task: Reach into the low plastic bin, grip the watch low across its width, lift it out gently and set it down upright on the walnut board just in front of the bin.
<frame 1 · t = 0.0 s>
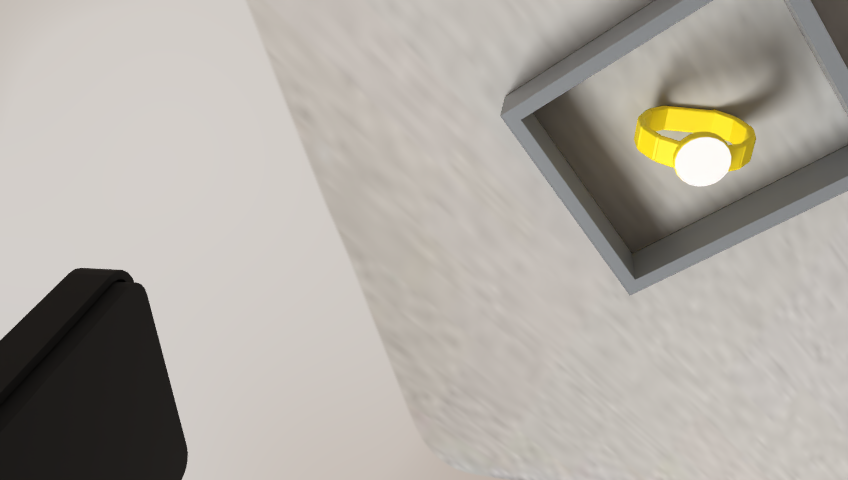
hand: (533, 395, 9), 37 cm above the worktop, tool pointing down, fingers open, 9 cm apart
bin: (688, 119, 45), on the worktop
watch: (687, 117, 46), resting in bin
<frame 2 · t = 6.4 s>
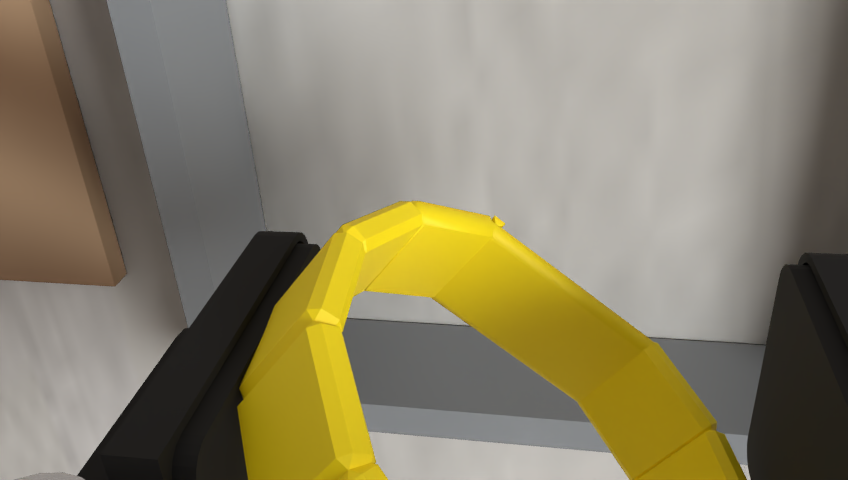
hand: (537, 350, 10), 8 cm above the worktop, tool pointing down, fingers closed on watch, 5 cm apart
bin: (569, 93, 16), on the worktop
watch: (541, 302, 11), point 7 cm above the worktop, touching gripper
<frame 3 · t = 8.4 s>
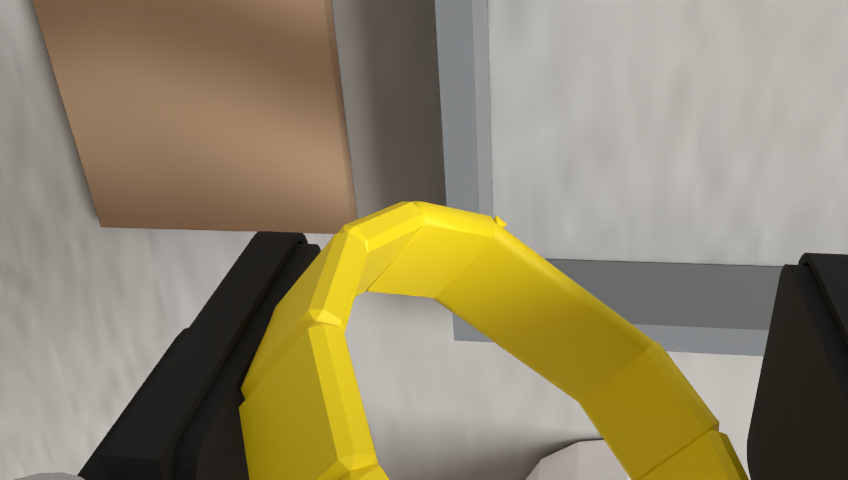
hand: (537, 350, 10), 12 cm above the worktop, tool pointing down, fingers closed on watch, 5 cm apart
bin: (779, 53, 19), on the worktop
board: (189, 24, 22), on the worktop
watch: (542, 302, 11), point 11 cm above the worktop, touching gripper
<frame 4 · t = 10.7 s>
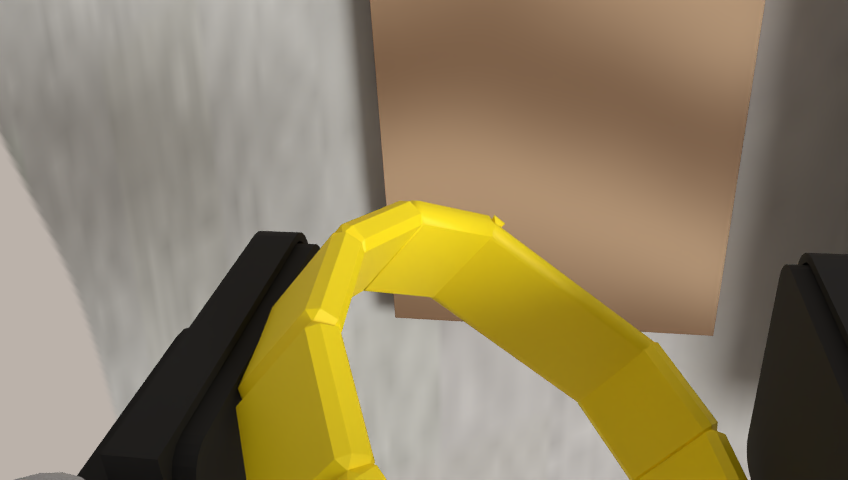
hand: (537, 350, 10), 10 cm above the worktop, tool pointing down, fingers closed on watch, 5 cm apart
board: (557, 92, 18), on the worktop
watch: (541, 302, 11), point 9 cm above the worktop, touching gripper
when the fingers open (3 cm above the worktop, at t = 13.0 s): watch stays where it is, resting on board.
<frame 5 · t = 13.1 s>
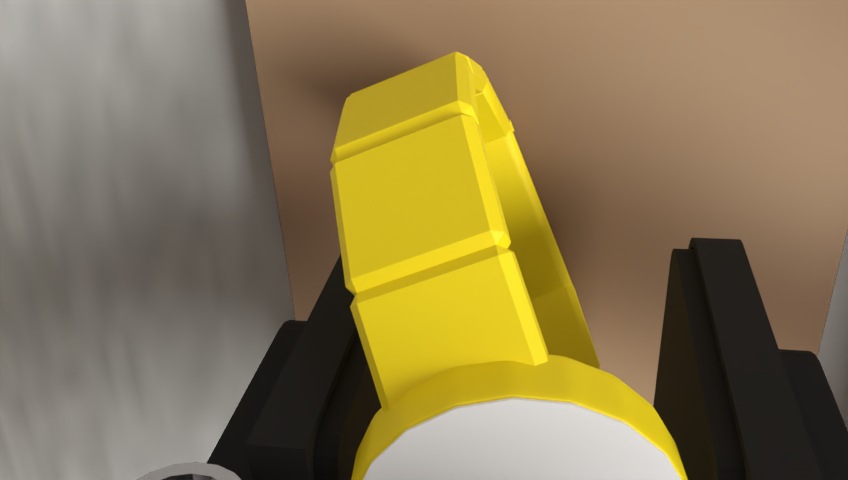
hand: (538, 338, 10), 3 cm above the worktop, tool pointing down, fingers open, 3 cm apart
board: (546, 232, 12), on the worktop
watch: (495, 214, 12), point 1 cm above the worktop, touching board
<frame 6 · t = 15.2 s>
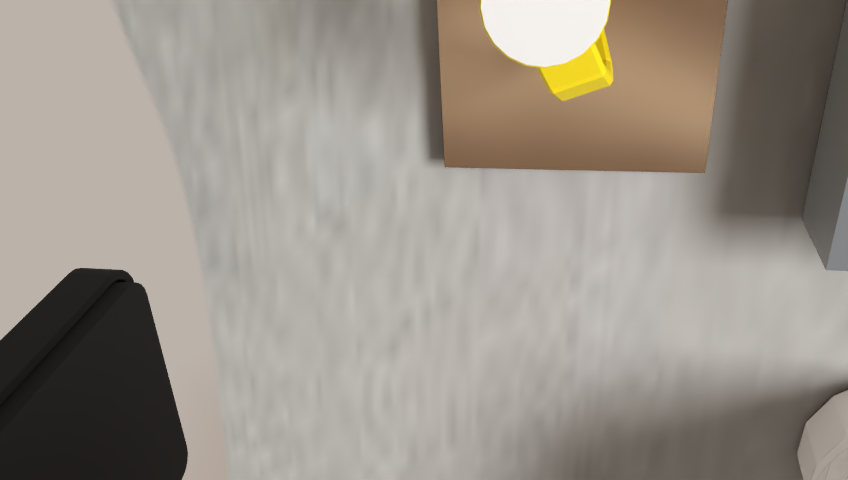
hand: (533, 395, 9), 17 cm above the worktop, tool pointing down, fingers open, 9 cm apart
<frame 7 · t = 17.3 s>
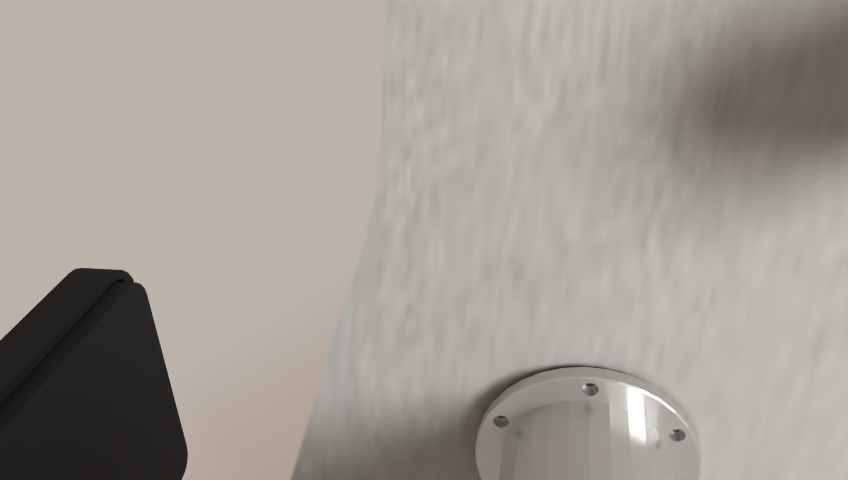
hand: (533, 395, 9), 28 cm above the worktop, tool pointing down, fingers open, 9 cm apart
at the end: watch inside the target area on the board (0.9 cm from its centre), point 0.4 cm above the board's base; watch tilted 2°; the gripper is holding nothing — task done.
